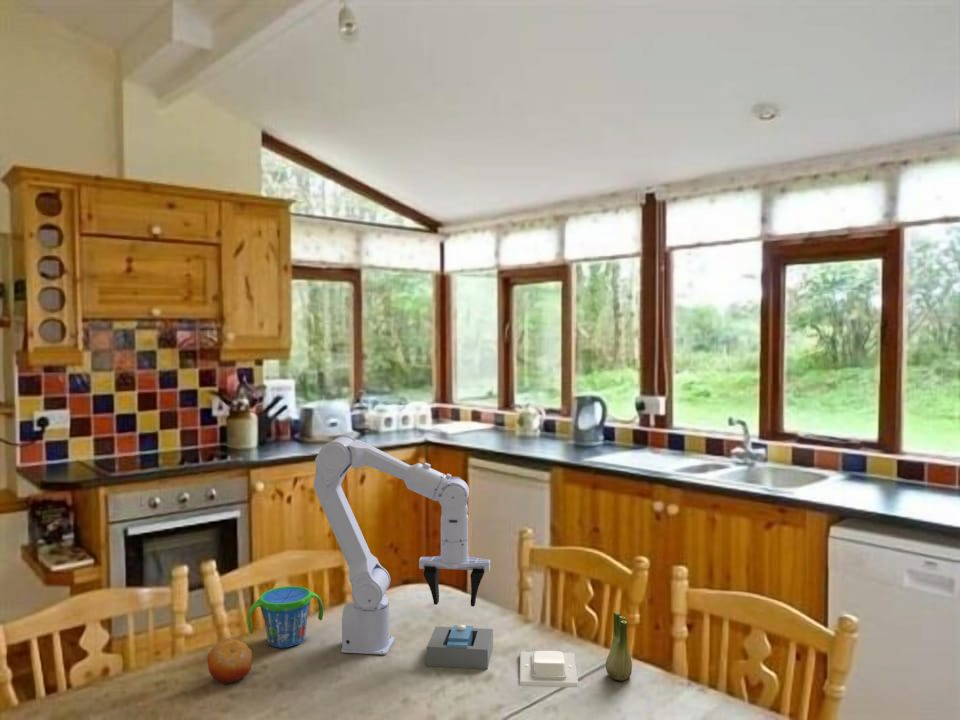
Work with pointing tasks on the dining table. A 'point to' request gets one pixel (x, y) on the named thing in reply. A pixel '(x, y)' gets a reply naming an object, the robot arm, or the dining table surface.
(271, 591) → the snack cup
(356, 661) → the dining table surface
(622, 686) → the dining table surface
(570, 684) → the light switch
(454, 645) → the servo
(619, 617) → the fennel bulb
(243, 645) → the fruit
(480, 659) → the block
